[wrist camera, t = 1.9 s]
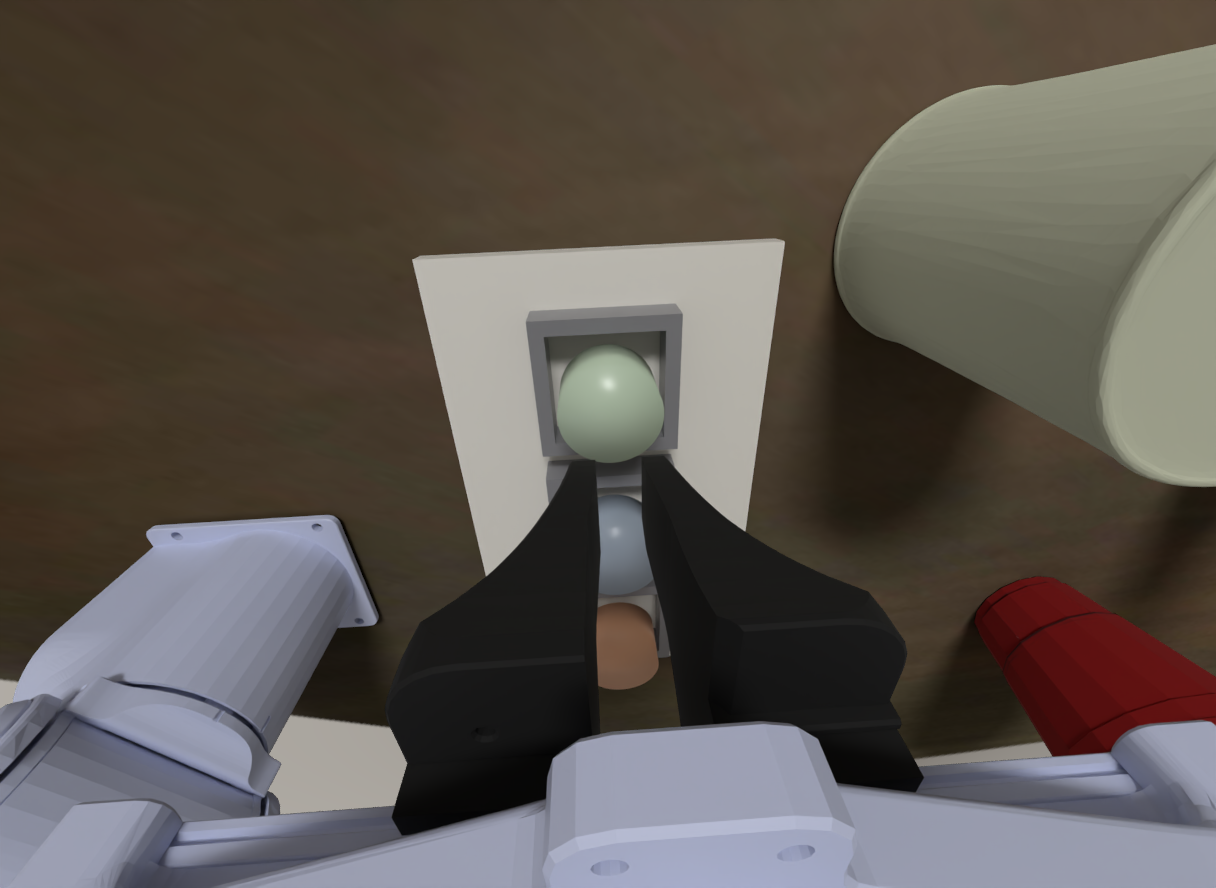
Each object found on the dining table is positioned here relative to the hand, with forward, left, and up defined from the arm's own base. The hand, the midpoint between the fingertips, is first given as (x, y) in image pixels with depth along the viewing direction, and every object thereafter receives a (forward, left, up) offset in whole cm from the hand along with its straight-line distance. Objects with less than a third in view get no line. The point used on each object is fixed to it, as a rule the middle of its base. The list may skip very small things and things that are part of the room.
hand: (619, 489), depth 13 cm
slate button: (0, -7, -7) cm, 10 cm away
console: (0, -7, -9) cm, 12 cm away
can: (+14, +5, -10) cm, 18 cm away
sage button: (0, 0, -7) cm, 7 cm away
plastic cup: (+26, -18, -10) cm, 33 cm away
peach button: (0, -14, -7) cm, 16 cm away
